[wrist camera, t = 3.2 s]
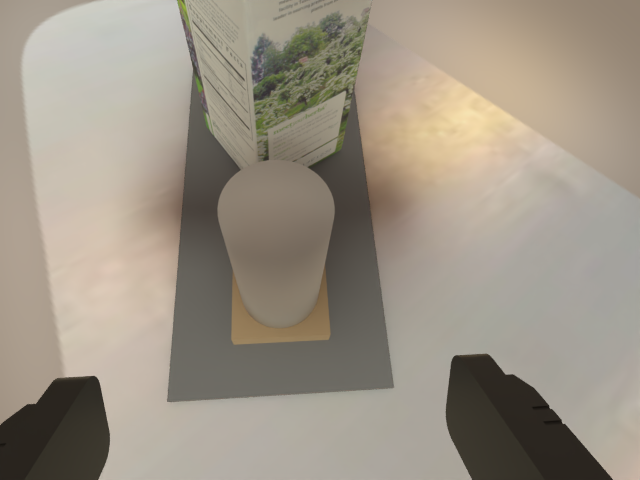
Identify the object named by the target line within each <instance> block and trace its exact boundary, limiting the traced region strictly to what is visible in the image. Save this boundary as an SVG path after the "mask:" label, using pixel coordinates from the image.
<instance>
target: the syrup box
mask: <svg viewBox="0 0 640 480" xmlns="http://www.w3.org/2000/svg"><path fill="white" fill-rule="evenodd" d="M177 1H178V6H179V10H180V15H181V19H182V23H183V27H184V31H185V35H186V40H187V44H188V48H189V52H190V56H191V61H192V65H193V69H194V74H195V78H196V83H197V87H198V92H199V96H200V100H201V104H202V109H203V113H204V117H205V122H206V126H207V128H208V129H209V130H210V132H211V133H212V134H213V135H214V137H215V138H216V139H217V140H218V142H219V143H220V144H221V145H222V147H223V148H224V149H225V150H226V152H227V153H228V154H229V155H230V157H231V158H232V159H233V160H234V162H235V163H236V164H237V165H238V167H239V168H240V169H241V170H242V169H244V168H245V167H247V166H249V165H252V164H254V163H258V162H261V161H267V160H286V161H291V162H295V163H298V164H301V165H303V166H305V167H307V168H310V167H312V166H314V165H315V164H317V163H319V162H321V161H322V160H324V159H326V158H327V157H329V156H332V155H333V154H335V153H336V152H338V151H340V150H341V148H342V144H343V139H344V135H345V129H346V124H347V120H348V115H349V110H350V105H351V100H352V95H353V90H354V85H355V81H356V76H357V71H358V66H359V61H360V57H361V52H362V47H363V42H364V38H365V32H366V28H367V23H368V18H369V13H370V9H371V4H372V0H177Z"/></svg>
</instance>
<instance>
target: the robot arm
mask: <svg viewBox="0 0 640 480" xmlns="http://www.w3.org/2000/svg"><path fill="white" fill-rule="evenodd" d="M446 421H447V426H448V430H449V434H450V436H451V439H452V441H453V443H454V445H455V447H456V449H457V450H458V452H459V454H460V456H461V458H462V460H463V462H464V464H465V466H466V468H467V470H468V472H469V474H470V476H471V478H472V480H613V479H612V478H611V477H610V476H609V474H608V473H607V472H606V471H605V470H604V469H603V467H602V466H601V465H600V464H599V463H598V462H597V460H596V459H595V458H594V457H593V456H592V455H591V454H590V452H589V451H588V450H587V449H586V448H585V447H584V445H583V444H582V443H581V442H580V441H579V440H578V438H577V437H576V436H575V435H574V434H573V433H572V432H571V430H570V429H569V428H568V427H567V426H566V425H565V424H562V420H561V419H560V418H559V416H558V415H557V414H556V413H555V412H554V411H553V409H550V408H549V405H548V404H547V403H546V401H545V400H544V399H543V398H542V397H541V396H540V394H539V393H538V392H537V391H536V390H535V389H534V388H533V387H531V386H530V385H528V384H527V383H525V382H524V381H522V380H521V379H519V378H518V377H516V376H515V375H513V374H511V375H505V373H504V372H503V371H502V370H501V368H500V367H499V366H498V365H497V364H496V362H495V361H494V360H493V359H492V357H491V356H490V355H488V354H473V355H456V356H454V357H453V359H452V362H451V369H450V378H449V386H448V395H447V403H446ZM109 445H110V433H109V427H108V422H107V417H106V412H105V407H104V402H103V397H102V392H101V387H100V383H99V380H98V379H97V377H95V376H85V377H68V378H57V379H55V380H54V381H53V382H52V383H51V385H50V386H49V387H48V389H47V390H46V391H45V393H44V394H43V395H42V397H41V398H40V399H39V401H38V402H37V403H36V404H27V405H26V406H24V407H23V408H22V409H20V410H19V411H18V412H16V413H15V414H14V415H12V416H11V417H10V418H8V419H7V420H6V421H4V422H3V423H2V424H1V425H0V480H98V479H99V477H100V474H101V472H102V470H103V468H104V465H105V463H106V460H107V457H108V452H109Z"/></svg>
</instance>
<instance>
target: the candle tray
mask: <svg viewBox="0 0 640 480" xmlns="http://www.w3.org/2000/svg"><path fill="white" fill-rule="evenodd" d="M393 387H394V384H393V377H392V369H391V362H390V354H389V347H388V339H387V332H386V324H385V317H384V309H383V302H382V294H381V287H380V279H379V272H378V264H377V257H376V249H375V242H374V234H373V227H372V219H371V212H370V204H369V197H368V189H367V182H366V174H365V167H364V159H363V152H362V144H361V137H360V129H359V122H358V114H357V107H356V99H355V92H354V90H353V95H352V100H351V105H350V110H349V115H348V120H347V124H346V129H345V135H344V139H343V144H342V148H341V150H340V151H338V152H336V153H335V154H333V155H332V156H329V157H327V158H326V159H324V160H322V161H321V162H319V163H317V164H315V165H314V166H312V167H310V168H307V167H305V166H303V165H301V164H298V163H295V162H291V161H286V160H267V161H261V162H258V163H254V164H252V165H249V166H247V167H245V168H244V169H242V170H241V169H240V168H239V167H238V165H237V164H236V163H235V162H234V160H233V159H232V158H231V157H230V155H229V154H228V153H227V152H226V150H225V149H224V148H223V147H222V145H221V144H220V143H219V142H218V140H217V139H216V138H215V137H214V135H213V134H212V133H211V132H210V130H209V129H208V128H207V126H206V122H205V117H204V113H203V109H202V104H201V100H200V96H199V92H198V87H197V83H196V78H195V74H194V69H193V79H192V91H191V104H190V117H189V130H188V143H187V155H186V168H185V181H184V194H183V207H182V219H181V232H180V245H179V258H178V271H177V283H176V296H175V309H174V322H173V334H172V347H171V360H170V373H169V386H168V398H167V402H179V401H195V400H211V399H227V398H243V397H259V396H275V395H291V394H307V393H323V392H339V391H355V390H371V389H387V388H393Z"/></svg>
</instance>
